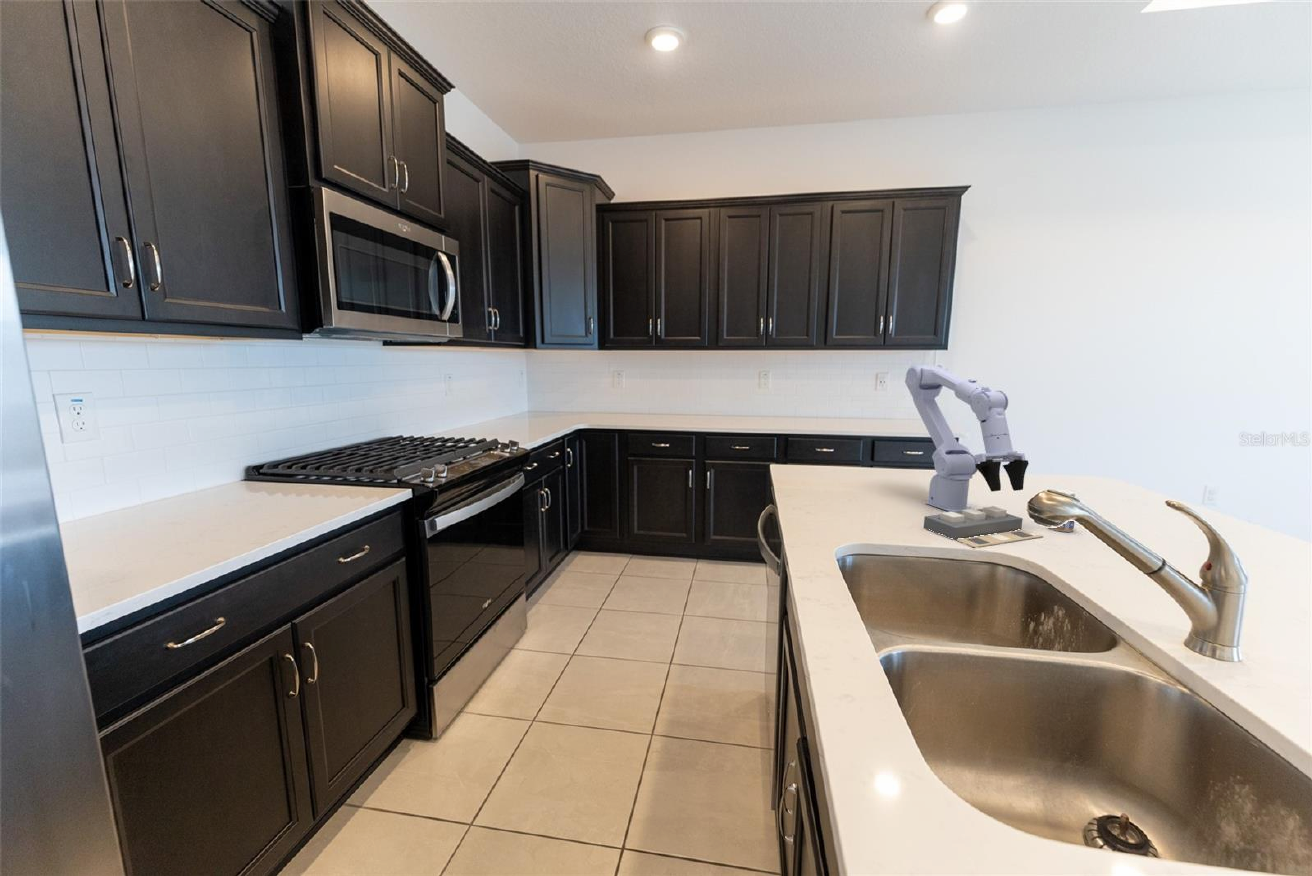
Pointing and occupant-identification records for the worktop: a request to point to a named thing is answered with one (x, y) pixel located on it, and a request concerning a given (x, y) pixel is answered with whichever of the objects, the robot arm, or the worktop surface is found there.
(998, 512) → the button end far
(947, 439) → the robot arm
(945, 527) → the button board
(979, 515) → the button middle
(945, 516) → the button end near
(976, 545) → the pattern card
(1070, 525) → the pill bottle
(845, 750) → the worktop surface
